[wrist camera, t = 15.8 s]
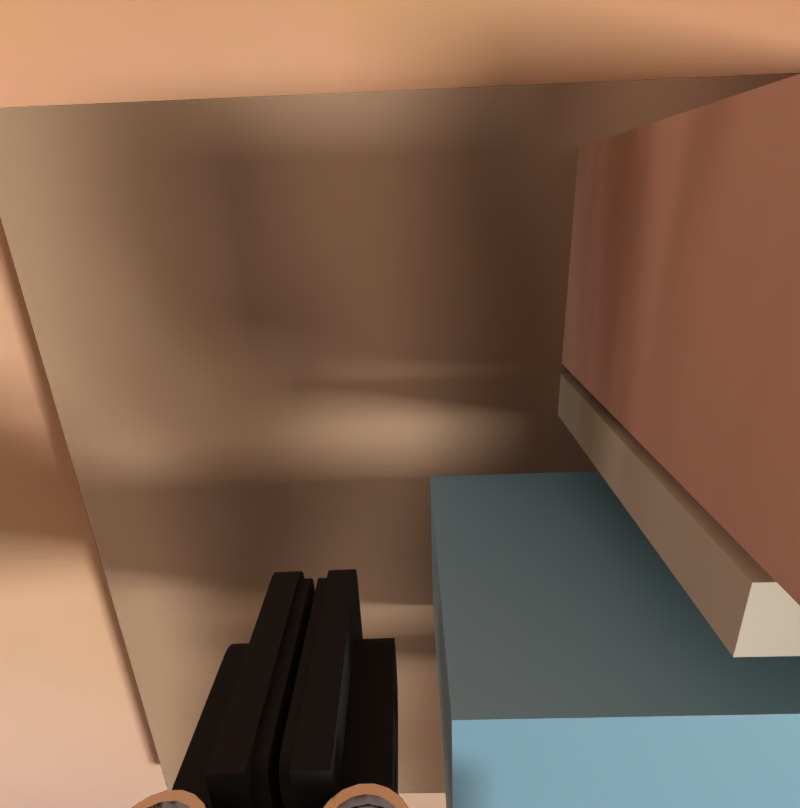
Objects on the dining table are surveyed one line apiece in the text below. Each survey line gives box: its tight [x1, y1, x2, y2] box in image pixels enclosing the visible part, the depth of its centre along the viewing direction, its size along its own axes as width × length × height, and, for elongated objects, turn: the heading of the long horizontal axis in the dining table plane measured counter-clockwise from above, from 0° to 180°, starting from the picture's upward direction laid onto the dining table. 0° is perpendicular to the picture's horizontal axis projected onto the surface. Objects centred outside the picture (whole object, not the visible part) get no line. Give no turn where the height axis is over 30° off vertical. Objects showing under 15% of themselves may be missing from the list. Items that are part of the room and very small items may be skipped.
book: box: [430, 471, 800, 808], centre depth 10 cm, size 10×4×6 cm, turn 92°
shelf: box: [0, 73, 800, 793], centre depth 10 cm, size 20×20×10 cm
